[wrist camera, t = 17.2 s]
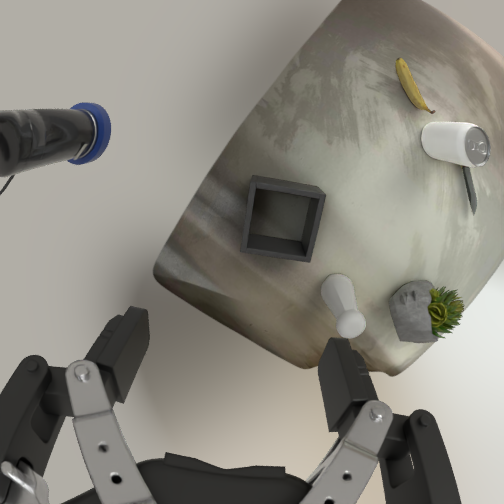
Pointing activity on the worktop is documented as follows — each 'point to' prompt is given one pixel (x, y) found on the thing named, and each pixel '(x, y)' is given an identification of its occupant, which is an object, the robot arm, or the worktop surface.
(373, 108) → the worktop surface
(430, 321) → the potted plant
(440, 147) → the can
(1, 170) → the robot arm
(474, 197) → the knife
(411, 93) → the banana
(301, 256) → the holder
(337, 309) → the salt shaker
